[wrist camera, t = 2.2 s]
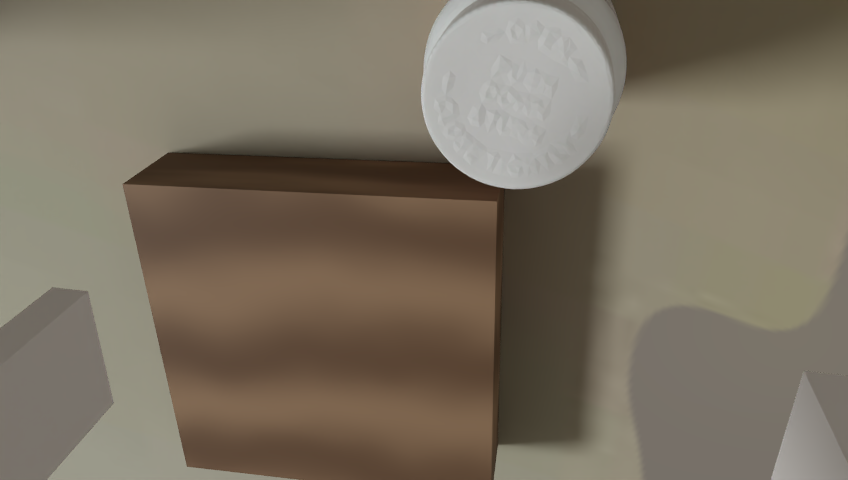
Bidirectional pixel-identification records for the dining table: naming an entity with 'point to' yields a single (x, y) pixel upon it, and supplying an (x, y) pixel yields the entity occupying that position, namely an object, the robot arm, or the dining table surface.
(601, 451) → the dining table surface
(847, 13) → the dining table surface
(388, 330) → the walnut block
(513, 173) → the pill bottle
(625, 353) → the dining table surface
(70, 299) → the robot arm
